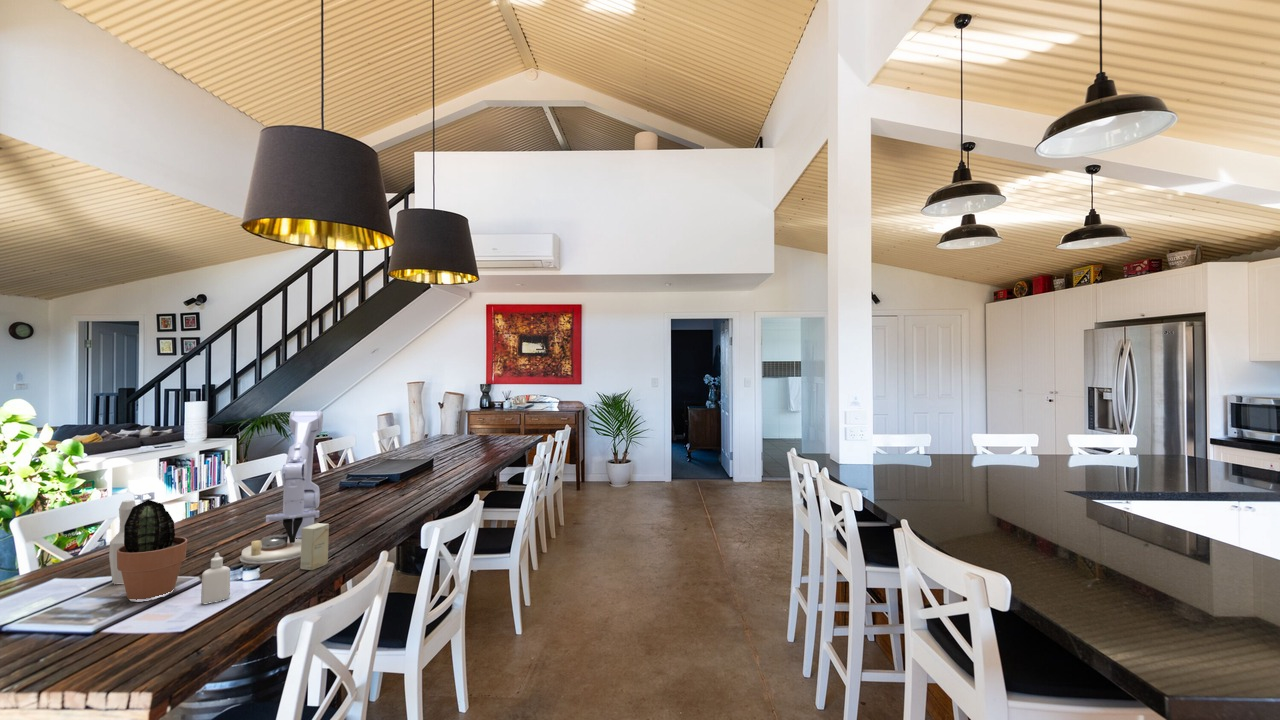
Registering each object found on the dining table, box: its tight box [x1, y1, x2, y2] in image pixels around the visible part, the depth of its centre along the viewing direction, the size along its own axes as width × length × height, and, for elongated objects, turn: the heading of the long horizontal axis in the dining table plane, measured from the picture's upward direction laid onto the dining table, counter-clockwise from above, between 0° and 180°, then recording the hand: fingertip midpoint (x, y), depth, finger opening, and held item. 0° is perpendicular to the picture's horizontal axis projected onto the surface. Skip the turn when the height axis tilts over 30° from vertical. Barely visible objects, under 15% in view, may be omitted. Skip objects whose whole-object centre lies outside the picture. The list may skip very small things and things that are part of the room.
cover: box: [260, 534, 288, 551], centre depth 173 cm, size 7×7×3 cm
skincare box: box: [299, 522, 330, 571], centre depth 163 cm, size 6×4×12 cm
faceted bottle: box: [108, 499, 137, 585], centre depth 150 cm, size 6×6×22 cm
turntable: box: [241, 538, 301, 562], centre depth 174 cm, size 18×18×6 cm
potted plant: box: [117, 499, 188, 600], centre depth 141 cm, size 14×14×25 cm
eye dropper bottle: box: [200, 552, 231, 604], centre depth 138 cm, size 4×6×12 cm
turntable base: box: [238, 554, 301, 565], centre depth 174 cm, size 19×19×1 cm
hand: (292, 542), depth 176 cm, fingers closed
